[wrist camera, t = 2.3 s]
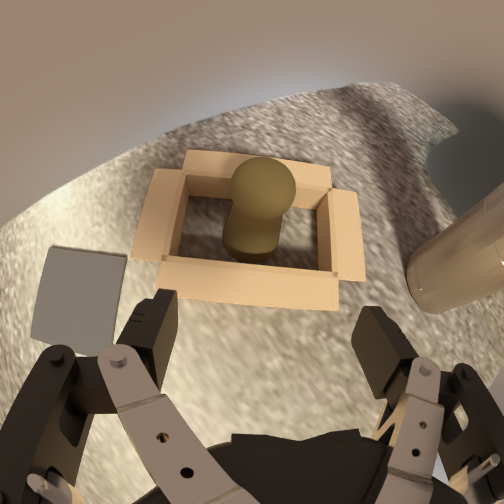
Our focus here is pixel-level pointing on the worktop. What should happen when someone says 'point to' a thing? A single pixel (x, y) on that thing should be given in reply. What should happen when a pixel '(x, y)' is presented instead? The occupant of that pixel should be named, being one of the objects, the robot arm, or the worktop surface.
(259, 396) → the worktop surface
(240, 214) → the cork
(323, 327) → the worktop surface
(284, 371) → the worktop surface
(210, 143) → the worktop surface
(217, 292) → the carton
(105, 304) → the mat
